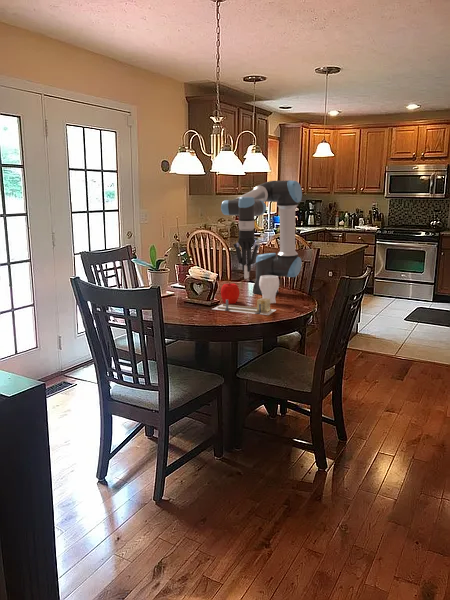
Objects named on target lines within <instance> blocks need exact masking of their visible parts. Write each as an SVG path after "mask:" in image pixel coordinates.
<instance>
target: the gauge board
mask: <svg viewBox="0 0 450 600" xmlns="http://www.w3.org/2000/svg"><path fill="white" fill-rule="evenodd" d="M212 310H214V311H215V310H217V311H225V312H232V313H233V312H235V313H246V314H253V315H254V314H255V315H264V316H270V315H271V314H273V313H274V312H276V311H277V309H272V308H270V311H269V312H268V313H267V312H266V311H261V313H259V311H257V306H255V307H253V306H246V305H245V306H244V305H238V304H237V305H235V304H228V300H226V303H223V304H219V305H217V306H216V307H214V308H213V307H212Z"/></svg>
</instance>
